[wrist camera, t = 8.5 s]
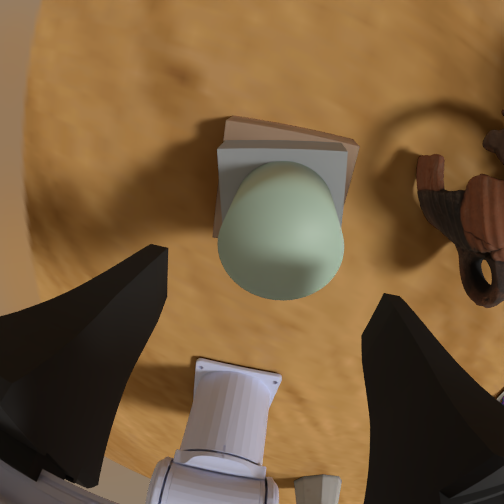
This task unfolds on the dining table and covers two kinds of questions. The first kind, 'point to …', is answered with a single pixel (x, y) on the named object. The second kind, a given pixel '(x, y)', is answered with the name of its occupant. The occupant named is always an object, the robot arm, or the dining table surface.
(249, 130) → the tower base
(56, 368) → the robot arm
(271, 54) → the dining table surface
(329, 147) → the tower top
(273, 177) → the green cylinder
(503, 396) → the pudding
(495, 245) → the pottery mug
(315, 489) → the coffee maker
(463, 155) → the dining table surface
